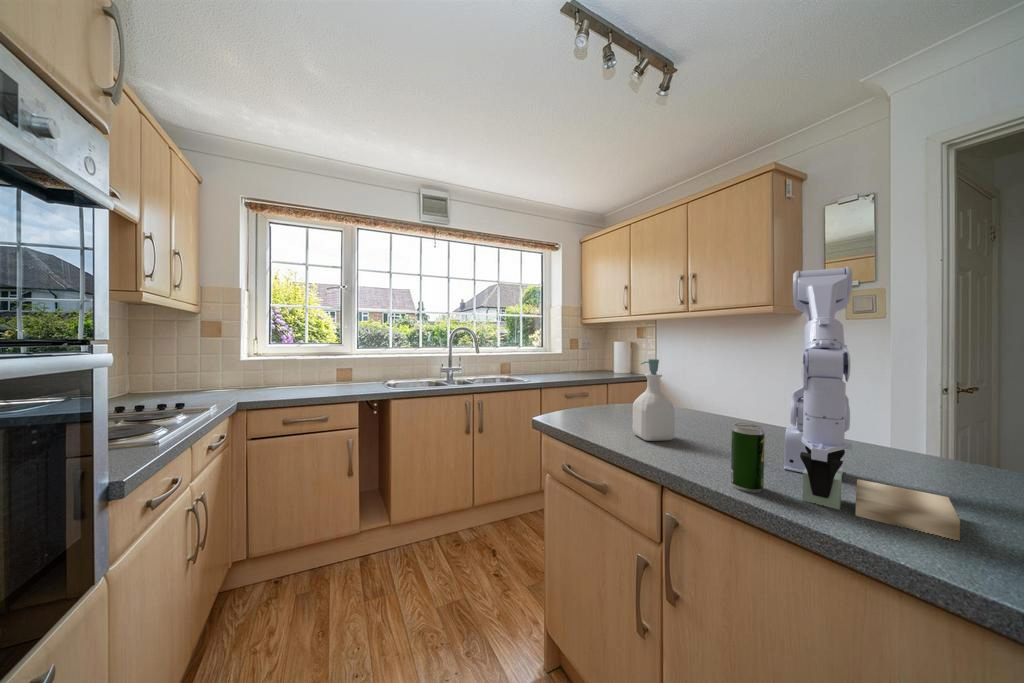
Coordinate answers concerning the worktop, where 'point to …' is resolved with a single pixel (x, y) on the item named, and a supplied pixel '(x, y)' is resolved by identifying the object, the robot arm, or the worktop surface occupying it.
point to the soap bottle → (653, 410)
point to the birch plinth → (907, 509)
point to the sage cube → (832, 501)
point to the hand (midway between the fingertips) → (822, 491)
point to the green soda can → (747, 457)
